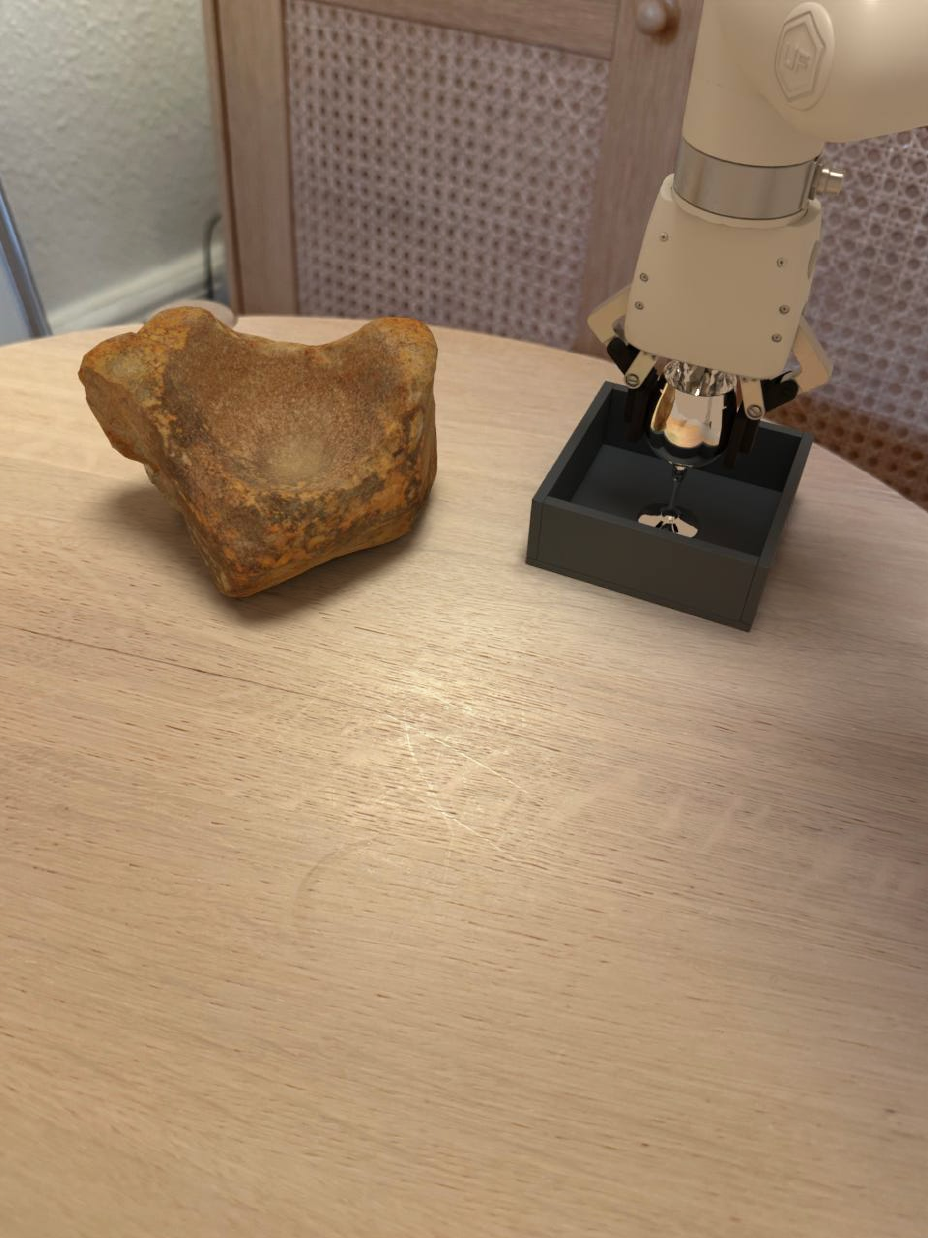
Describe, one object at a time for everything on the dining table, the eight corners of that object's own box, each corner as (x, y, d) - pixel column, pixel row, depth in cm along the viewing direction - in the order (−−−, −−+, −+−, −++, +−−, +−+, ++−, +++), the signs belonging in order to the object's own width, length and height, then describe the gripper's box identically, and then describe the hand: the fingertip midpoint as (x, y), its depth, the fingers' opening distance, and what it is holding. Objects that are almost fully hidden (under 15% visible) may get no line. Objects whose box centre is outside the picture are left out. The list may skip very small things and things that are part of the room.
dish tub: (795, 496, 80) (815, 433, 76) (749, 632, 70) (769, 568, 66) (596, 441, 84) (605, 379, 80) (525, 563, 74) (531, 498, 70)
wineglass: (678, 561, 74) (713, 413, 65) (611, 523, 76) (635, 375, 68) (724, 522, 77) (763, 376, 68) (658, 487, 80) (687, 342, 71)
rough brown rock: (93, 645, 68) (42, 467, 57) (112, 468, 79) (72, 287, 67) (457, 625, 72) (478, 453, 60) (428, 458, 82) (441, 285, 71)
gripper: (913, 179, 59) (824, 448, 72) (614, 121, 64) (580, 384, 77) (895, 234, 55) (804, 512, 67) (573, 168, 59) (544, 441, 72)
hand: (685, 442), depth 72 cm, fingers closed on wineglass, 5 cm apart
